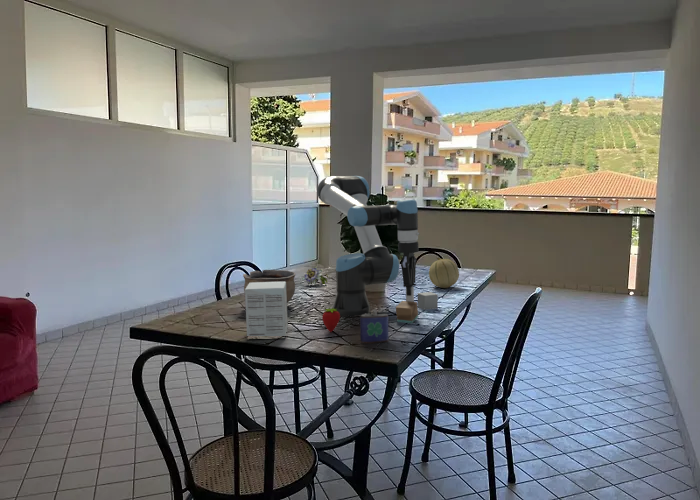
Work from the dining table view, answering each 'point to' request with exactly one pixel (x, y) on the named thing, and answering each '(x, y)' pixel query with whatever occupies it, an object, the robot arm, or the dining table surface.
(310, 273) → the passion flower
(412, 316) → the brown and green cube
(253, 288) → the supplement box
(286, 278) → the ceramic bowl
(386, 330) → the flask
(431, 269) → the cantaloupe
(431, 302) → the grey block
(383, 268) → the robot arm
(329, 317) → the strawberry
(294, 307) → the dining table surface
